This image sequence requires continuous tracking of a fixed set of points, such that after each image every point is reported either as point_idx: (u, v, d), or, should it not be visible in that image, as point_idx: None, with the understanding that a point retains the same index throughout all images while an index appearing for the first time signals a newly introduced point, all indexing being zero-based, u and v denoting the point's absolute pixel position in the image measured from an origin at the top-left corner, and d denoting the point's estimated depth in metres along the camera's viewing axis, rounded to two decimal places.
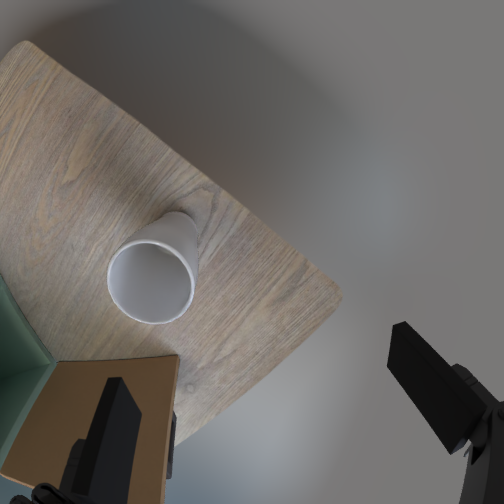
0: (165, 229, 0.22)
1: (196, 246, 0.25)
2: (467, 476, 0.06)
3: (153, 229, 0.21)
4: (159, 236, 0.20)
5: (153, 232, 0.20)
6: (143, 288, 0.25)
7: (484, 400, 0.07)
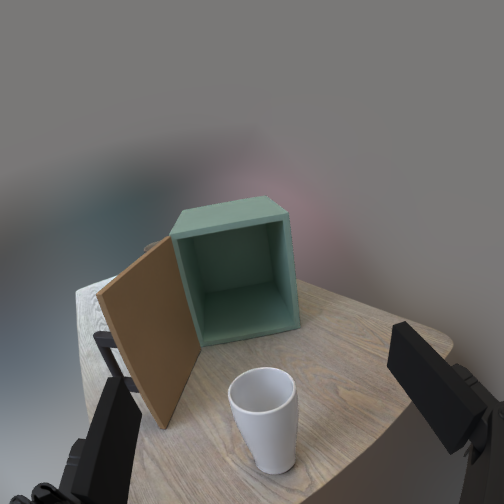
0: (294, 417, 0.25)
1: (270, 446, 0.25)
2: (467, 477, 0.06)
3: (297, 408, 0.26)
4: (293, 404, 0.25)
5: (296, 404, 0.25)
6: (250, 402, 0.30)
7: (484, 400, 0.07)
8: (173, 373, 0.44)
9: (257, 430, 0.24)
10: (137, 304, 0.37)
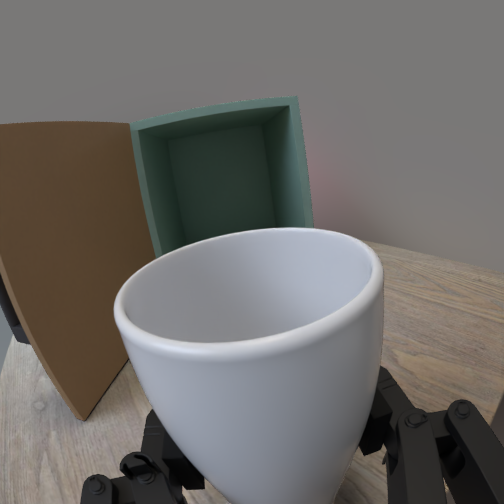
0: (375, 386, 0.06)
1: (278, 497, 0.06)
2: (389, 487, 0.07)
3: None
4: (382, 322, 0.06)
5: None
6: None
7: (398, 404, 0.09)
8: (108, 325, 0.25)
9: (222, 447, 0.05)
10: (44, 178, 0.18)
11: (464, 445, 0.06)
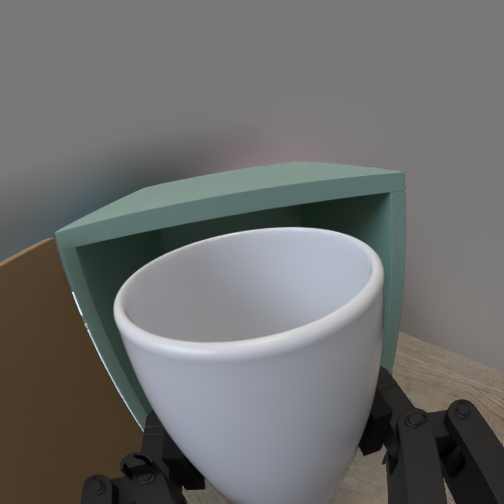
0: (375, 386, 0.06)
1: (278, 497, 0.06)
2: (389, 487, 0.07)
3: None
4: (382, 322, 0.06)
5: None
6: None
7: (398, 404, 0.09)
8: None
9: (222, 447, 0.05)
10: None
11: (464, 445, 0.06)
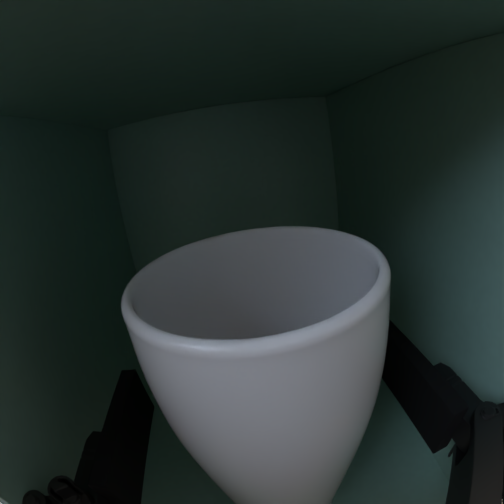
0: (379, 384, 0.06)
1: (281, 494, 0.06)
2: (452, 477, 0.06)
3: None
4: (388, 321, 0.06)
5: (388, 330, 0.06)
6: None
7: (467, 400, 0.08)
8: None
9: (229, 444, 0.05)
10: None
11: None
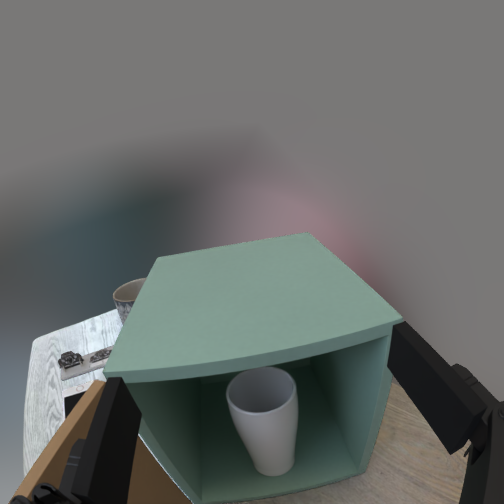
0: (294, 418, 0.24)
1: (268, 447, 0.24)
2: (467, 477, 0.06)
3: (297, 408, 0.25)
4: (293, 405, 0.24)
5: (296, 405, 0.24)
6: (248, 402, 0.29)
7: (484, 400, 0.07)
8: None
9: (256, 431, 0.23)
10: None
11: None
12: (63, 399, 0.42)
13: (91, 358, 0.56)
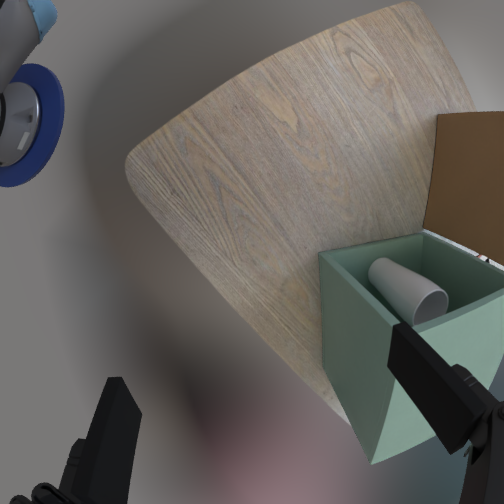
0: (406, 292, 0.34)
1: (411, 272, 0.37)
2: (467, 477, 0.06)
3: (405, 299, 0.34)
4: (414, 299, 0.33)
5: (408, 301, 0.33)
6: (418, 309, 0.38)
7: (484, 400, 0.07)
8: (451, 160, 0.38)
9: (429, 281, 0.34)
10: None
11: None
12: None
13: None
